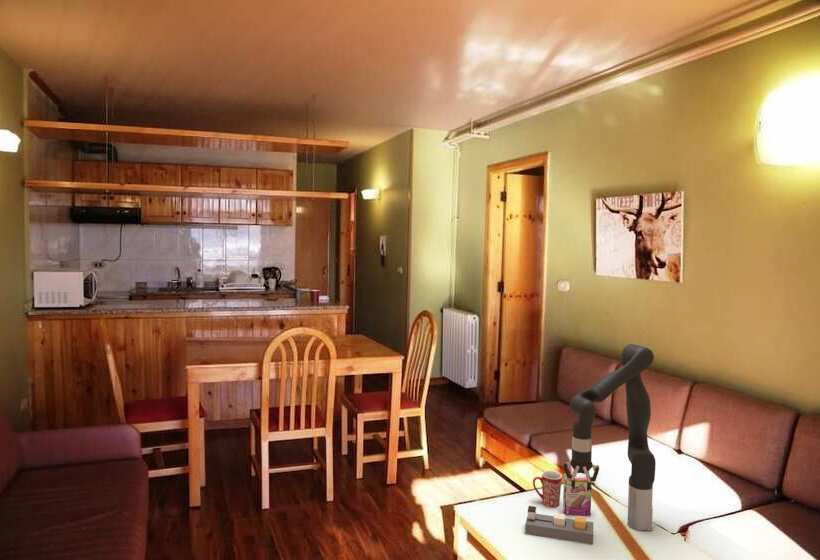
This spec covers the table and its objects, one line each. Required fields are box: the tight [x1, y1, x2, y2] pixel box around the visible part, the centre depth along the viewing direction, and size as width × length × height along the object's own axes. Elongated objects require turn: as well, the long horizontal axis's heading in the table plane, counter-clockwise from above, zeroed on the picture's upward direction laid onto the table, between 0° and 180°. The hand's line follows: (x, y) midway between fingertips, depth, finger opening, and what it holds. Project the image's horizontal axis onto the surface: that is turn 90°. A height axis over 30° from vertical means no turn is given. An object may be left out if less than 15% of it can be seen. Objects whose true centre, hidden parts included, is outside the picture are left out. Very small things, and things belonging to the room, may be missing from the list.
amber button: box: [574, 515, 587, 530], centre depth 229 cm, size 4×4×3 cm
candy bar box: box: [562, 473, 593, 517], centre depth 247 cm, size 11×5×16 cm, turn 84°
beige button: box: [553, 512, 566, 527], centre depth 231 cm, size 4×4×3 cm
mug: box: [532, 470, 563, 508], centre depth 256 cm, size 13×9×14 cm
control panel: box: [524, 513, 594, 545], centre depth 232 cm, size 26×10×4 cm, turn 71°
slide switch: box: [527, 505, 537, 520], centre depth 235 cm, size 3×4×6 cm
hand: (580, 489), depth 227 cm, fingers open, 4 cm apart
